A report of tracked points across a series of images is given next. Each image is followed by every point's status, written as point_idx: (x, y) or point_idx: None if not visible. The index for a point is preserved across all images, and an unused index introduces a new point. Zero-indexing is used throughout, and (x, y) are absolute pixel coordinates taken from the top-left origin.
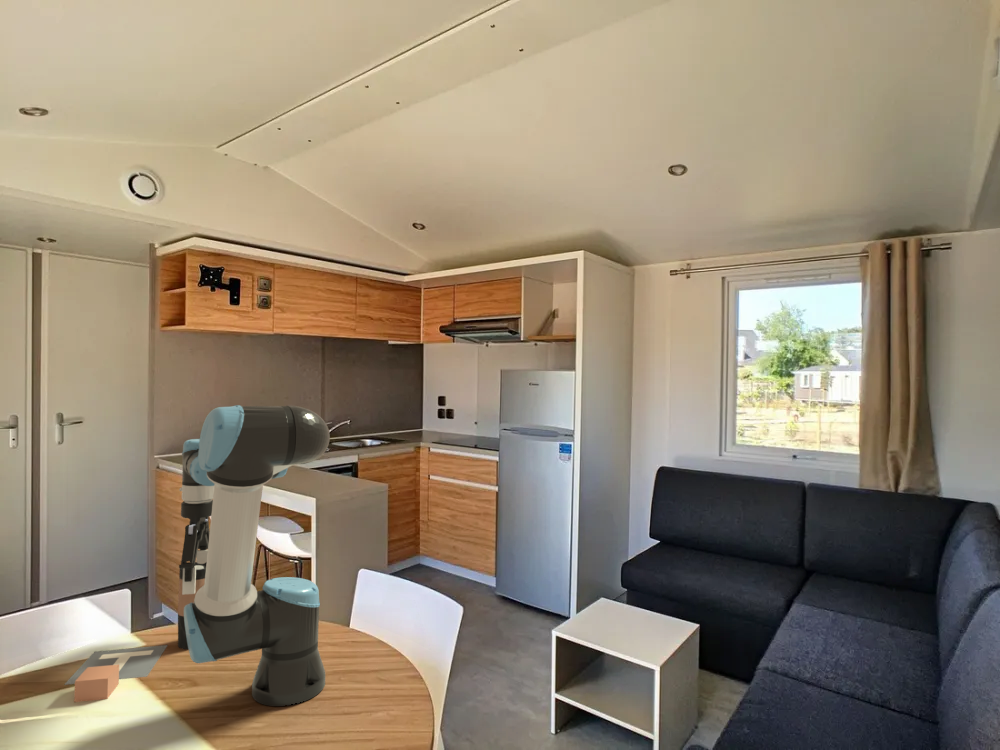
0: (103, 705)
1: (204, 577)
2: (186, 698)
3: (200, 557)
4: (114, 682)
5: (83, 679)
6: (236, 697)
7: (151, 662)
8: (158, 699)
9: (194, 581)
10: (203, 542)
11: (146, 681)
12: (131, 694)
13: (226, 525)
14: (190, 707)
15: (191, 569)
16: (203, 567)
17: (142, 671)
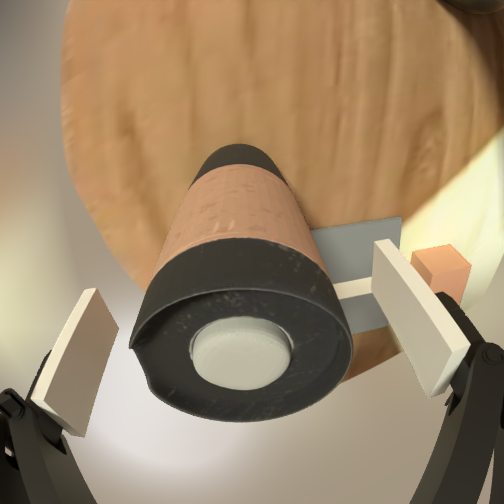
0: (457, 244)
1: (312, 260)
2: (474, 120)
3: (82, 390)
4: (437, 258)
5: (459, 297)
6: (478, 38)
7: (341, 237)
8: (468, 167)
9: (421, 279)
10: (62, 477)
11: (407, 213)
12: (442, 218)
13: None
14: (495, 109)
15: (479, 343)
16: (231, 330)
17: (379, 236)
